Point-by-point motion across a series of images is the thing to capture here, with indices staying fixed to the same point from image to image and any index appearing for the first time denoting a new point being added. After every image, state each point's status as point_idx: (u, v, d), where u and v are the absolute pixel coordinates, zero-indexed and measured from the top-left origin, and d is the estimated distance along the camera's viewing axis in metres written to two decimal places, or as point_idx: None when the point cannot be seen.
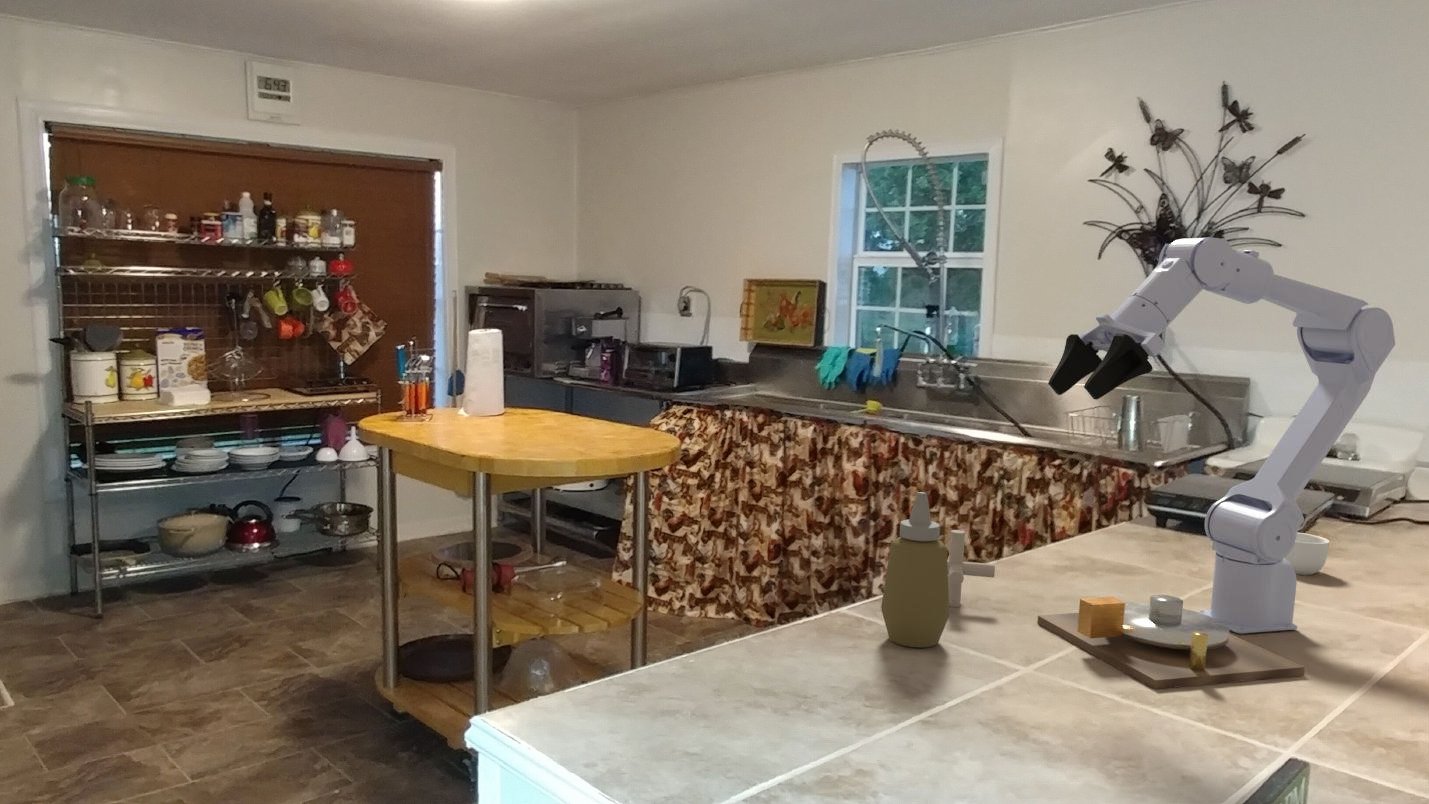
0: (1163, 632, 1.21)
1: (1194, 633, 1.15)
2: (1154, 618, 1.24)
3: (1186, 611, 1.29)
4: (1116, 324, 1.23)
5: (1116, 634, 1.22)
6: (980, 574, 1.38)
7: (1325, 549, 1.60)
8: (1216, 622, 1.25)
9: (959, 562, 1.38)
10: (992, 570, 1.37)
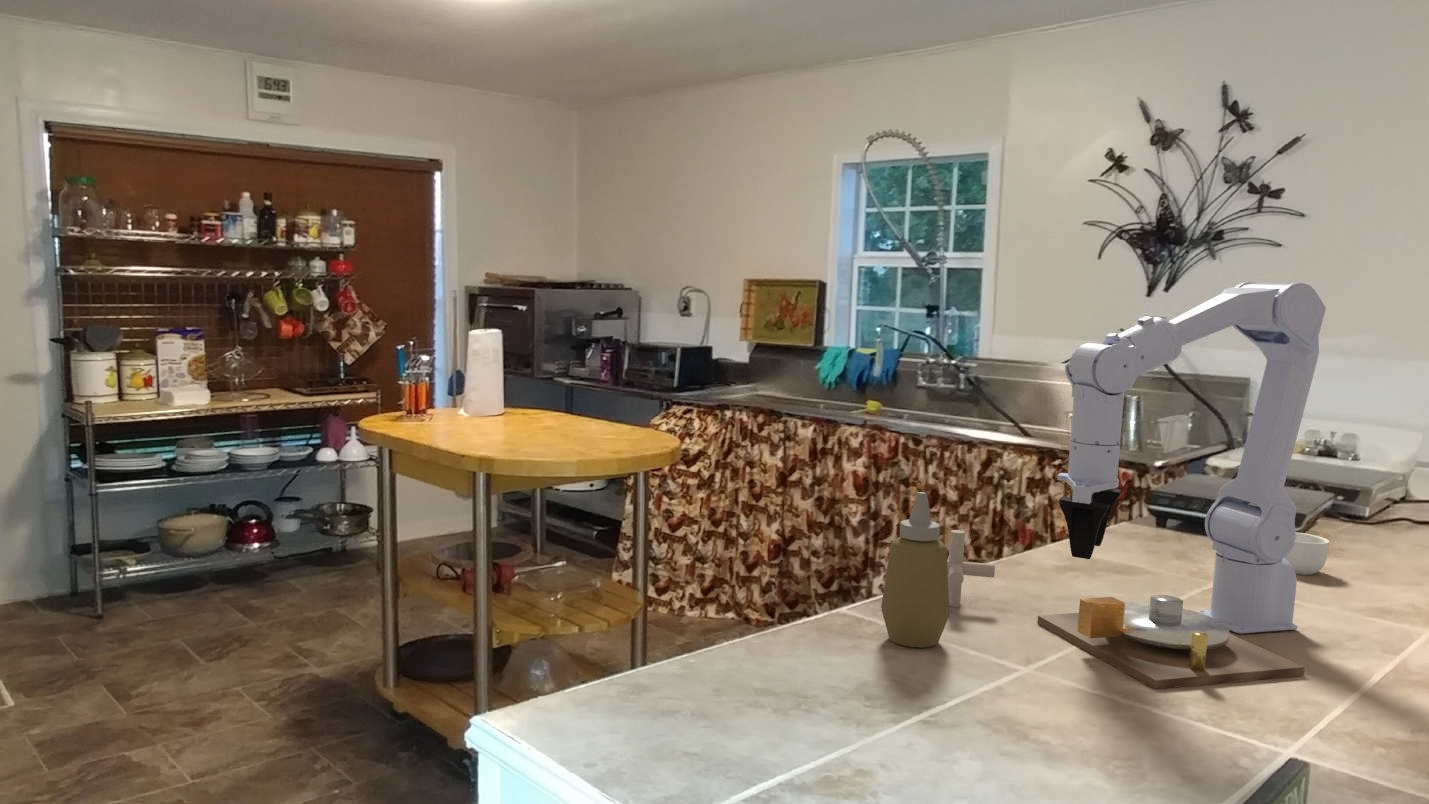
0: (1163, 632, 1.21)
1: (1194, 633, 1.15)
2: (1154, 618, 1.24)
3: (1186, 611, 1.29)
4: (1067, 479, 1.27)
5: (1116, 634, 1.22)
6: (980, 574, 1.38)
7: (1325, 549, 1.60)
8: (1216, 622, 1.25)
9: (959, 562, 1.38)
10: (992, 570, 1.37)
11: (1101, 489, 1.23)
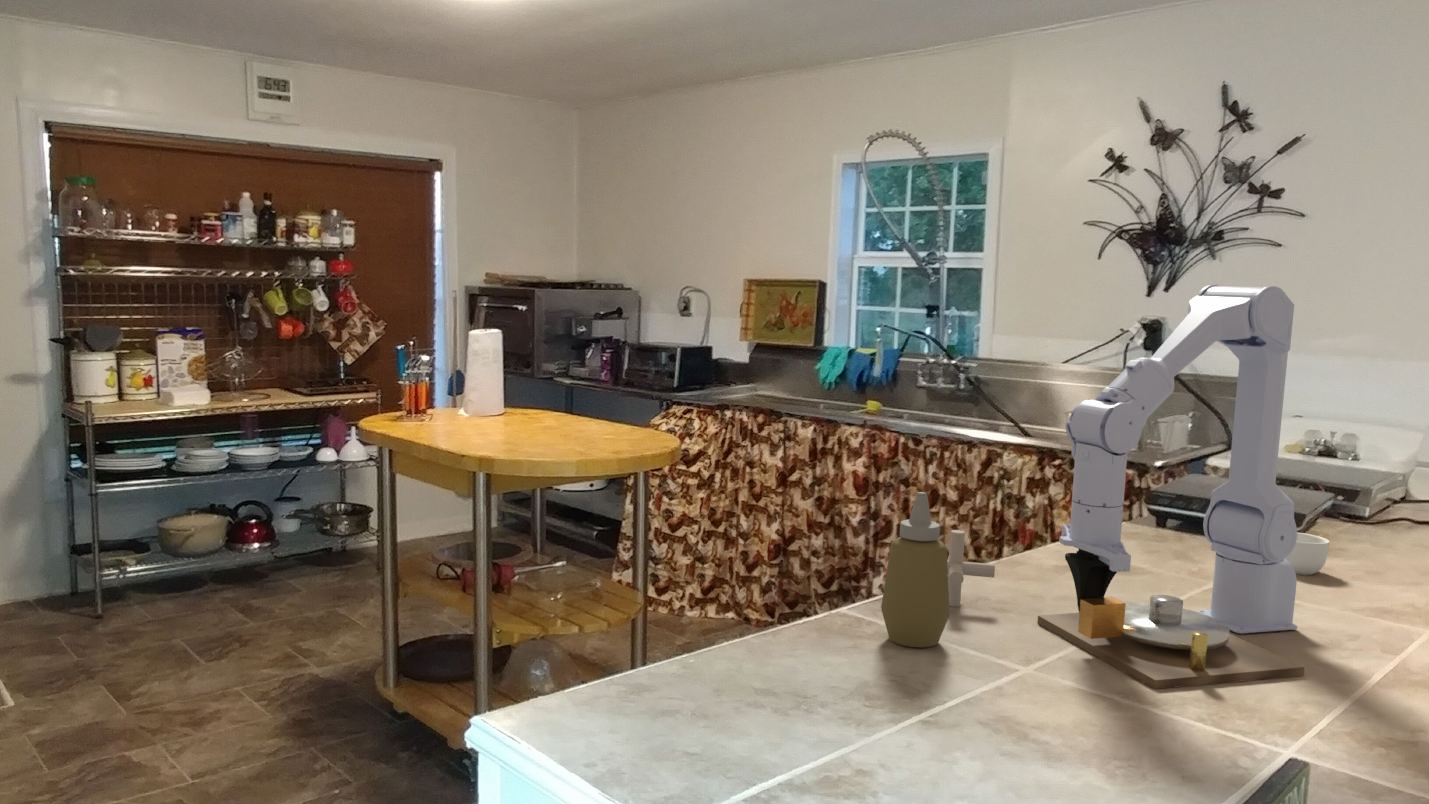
0: (1164, 632, 1.21)
1: (1194, 633, 1.15)
2: (1154, 618, 1.24)
3: (1185, 611, 1.29)
4: (1078, 544, 1.21)
5: (1117, 634, 1.22)
6: (980, 574, 1.38)
7: (1325, 549, 1.60)
8: (1216, 622, 1.25)
9: (959, 562, 1.38)
10: (992, 570, 1.37)
11: None
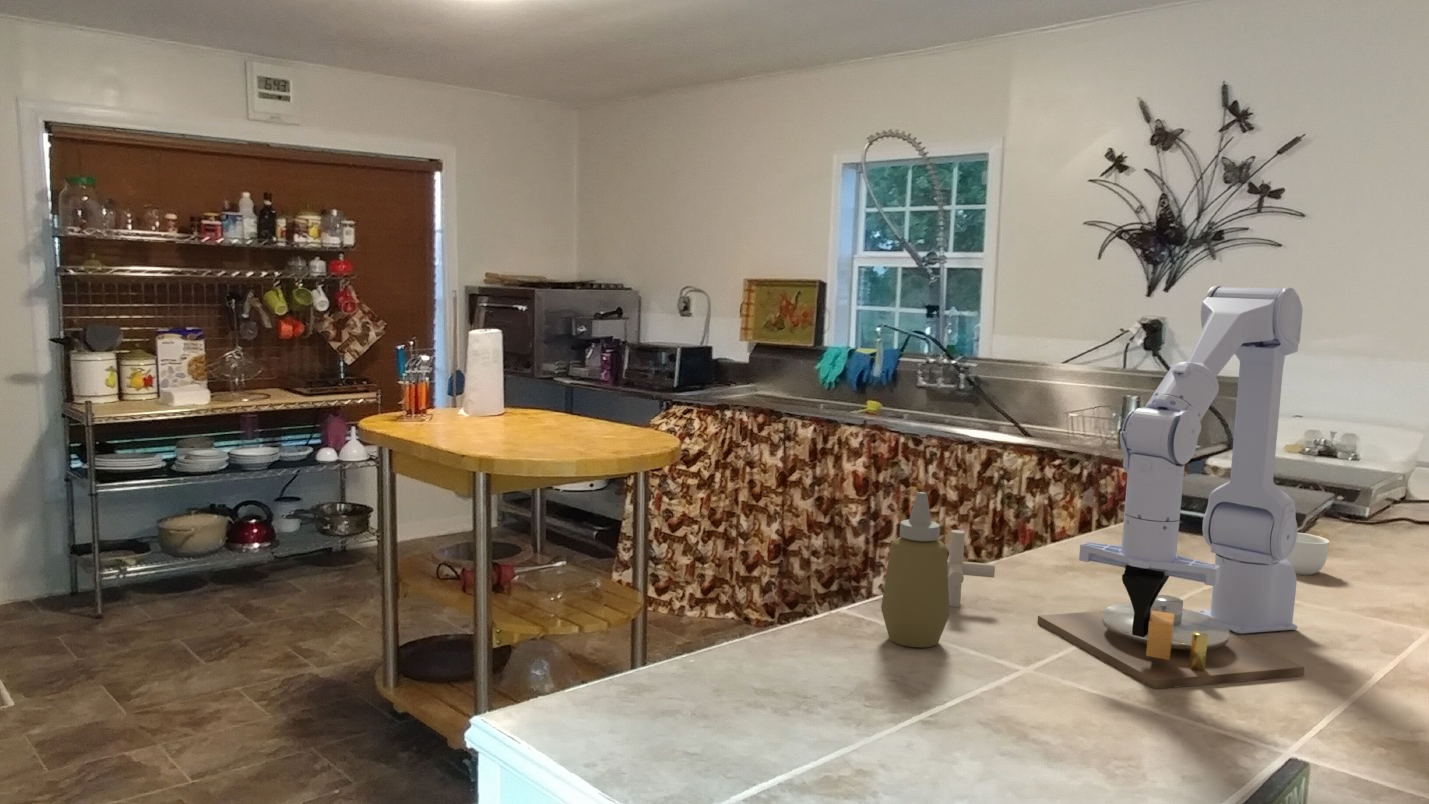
0: None
1: (1194, 633, 1.15)
2: None
3: None
4: (1157, 564, 1.13)
5: (1171, 648, 1.18)
6: (980, 574, 1.38)
7: (1325, 549, 1.60)
8: (1181, 609, 1.30)
9: (959, 562, 1.38)
10: (992, 570, 1.37)
11: None
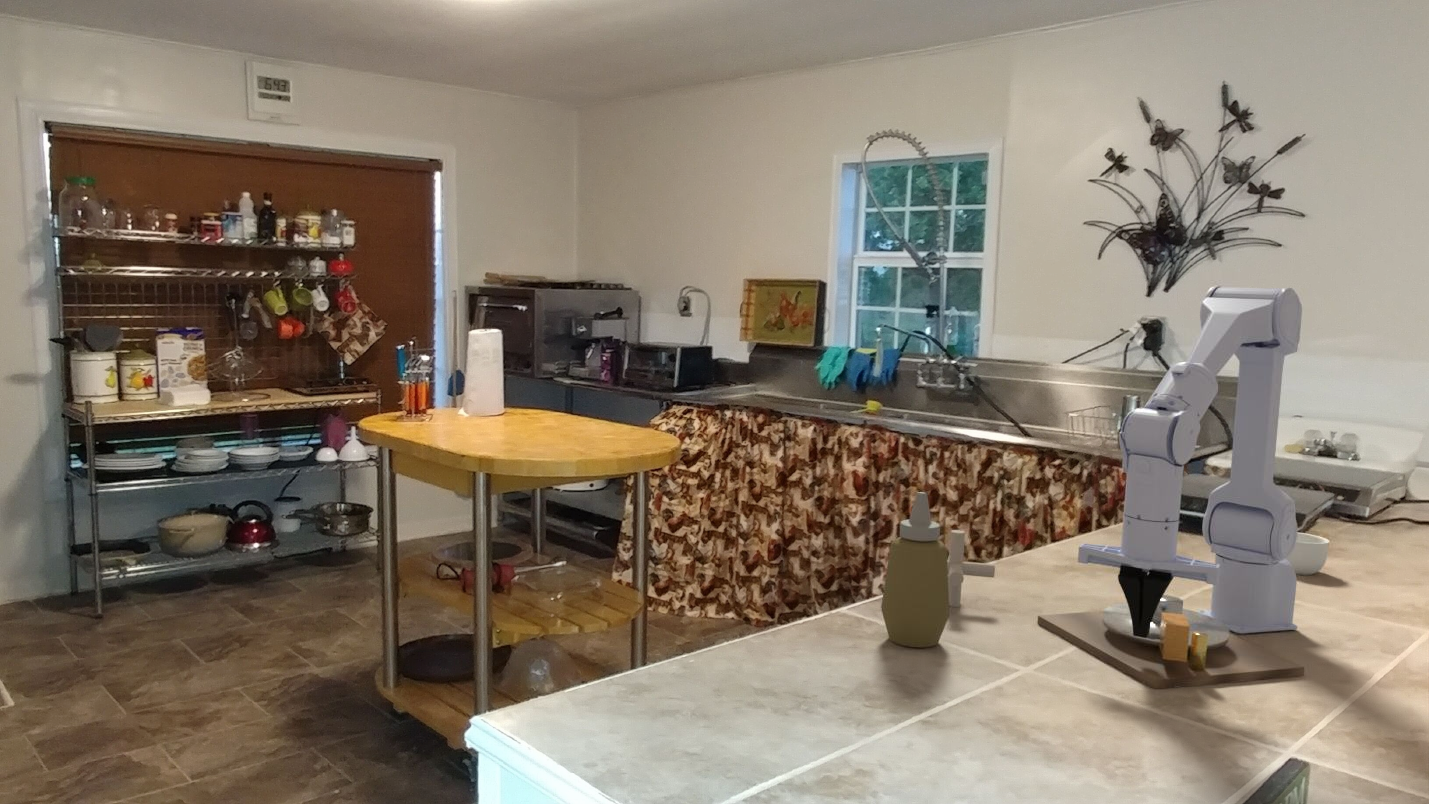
0: None
1: (1194, 633, 1.15)
2: None
3: None
4: (1159, 565, 1.13)
5: None
6: (980, 574, 1.38)
7: (1325, 549, 1.59)
8: None
9: (959, 562, 1.38)
10: (992, 570, 1.37)
11: None
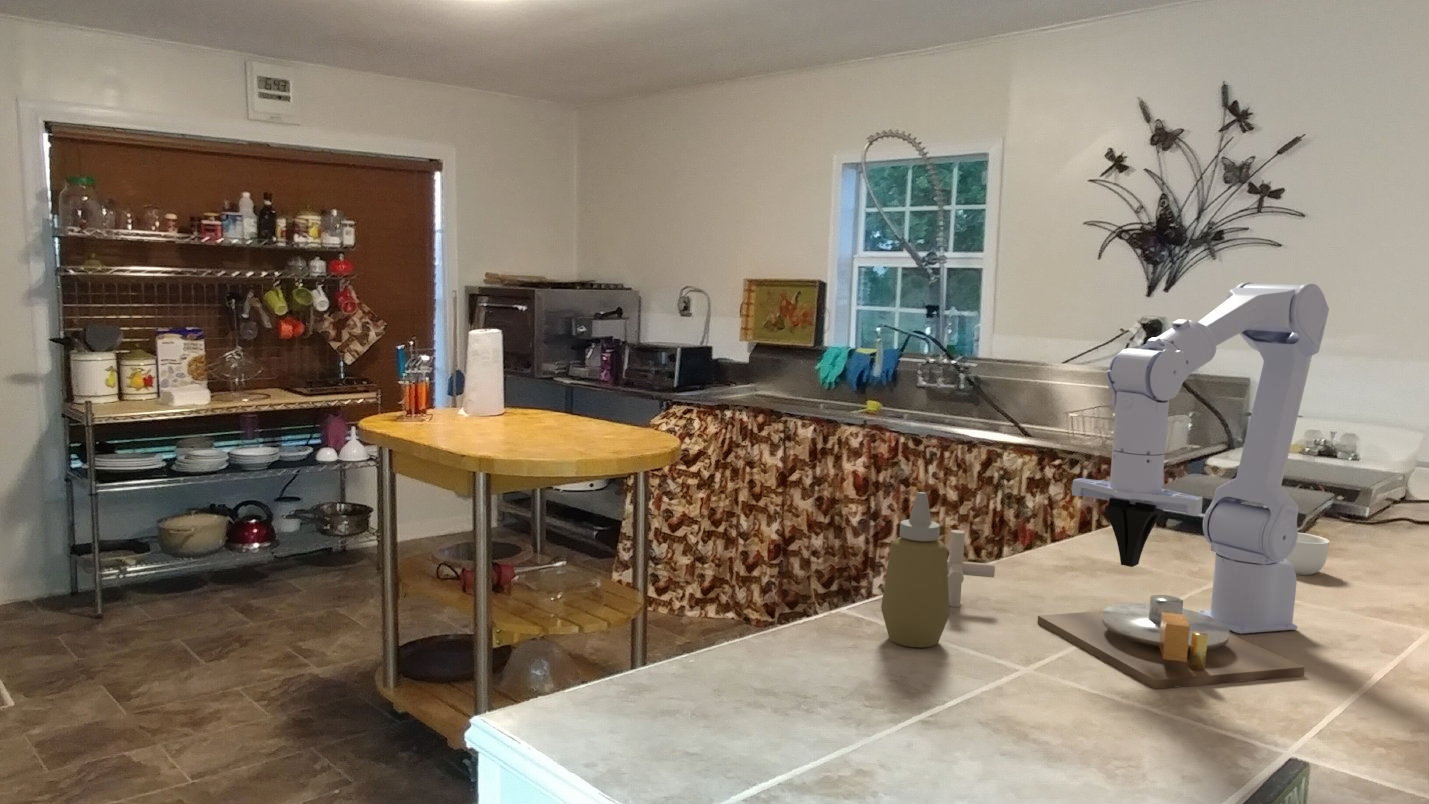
0: None
1: (1194, 633, 1.15)
2: None
3: (1136, 605, 1.31)
4: (1141, 496, 1.19)
5: None
6: (980, 574, 1.38)
7: (1325, 549, 1.60)
8: None
9: (959, 562, 1.38)
10: (992, 570, 1.37)
11: None
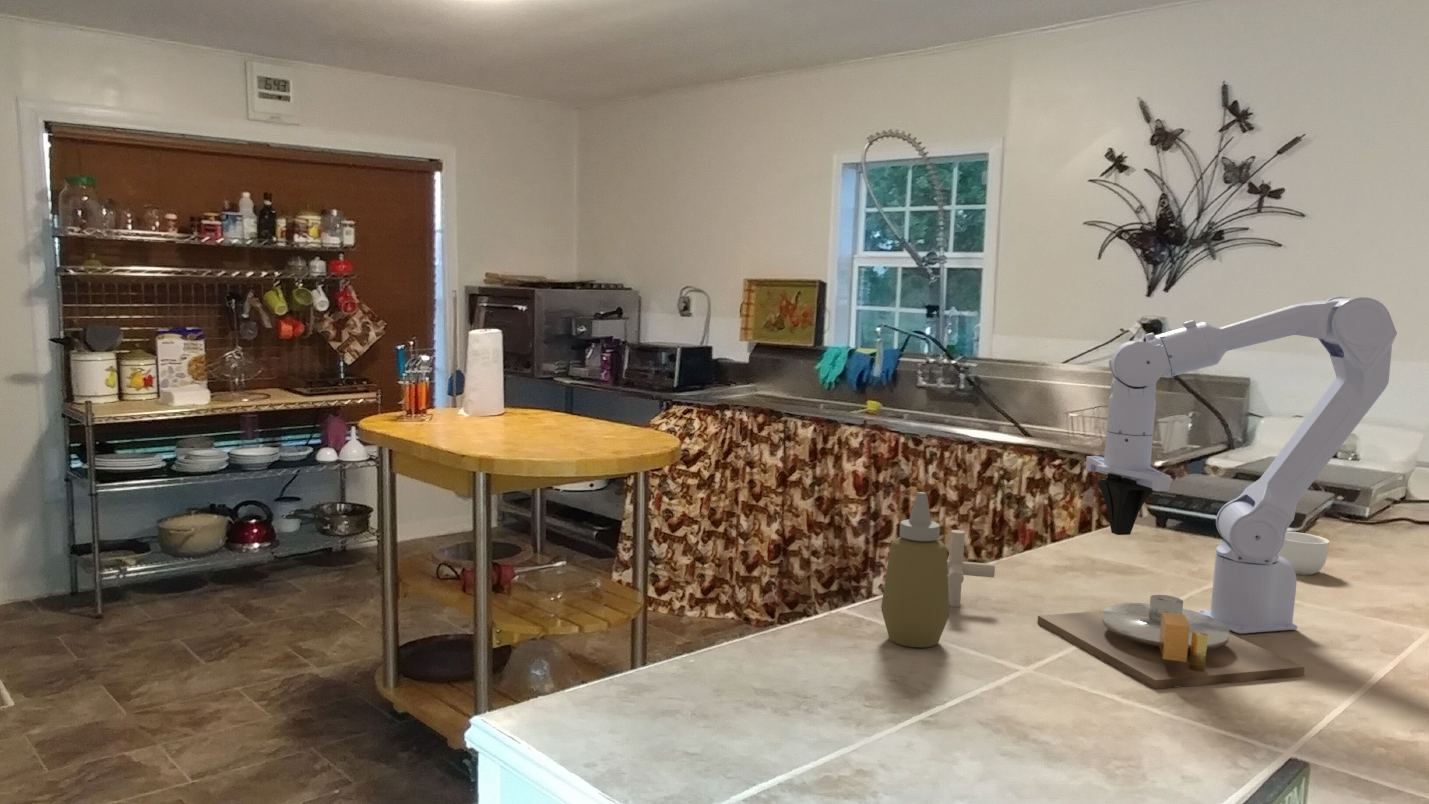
0: None
1: (1194, 633, 1.15)
2: None
3: (1136, 605, 1.31)
4: (1117, 470, 1.35)
5: None
6: (980, 574, 1.38)
7: (1325, 549, 1.60)
8: None
9: (959, 562, 1.38)
10: (992, 570, 1.37)
11: None
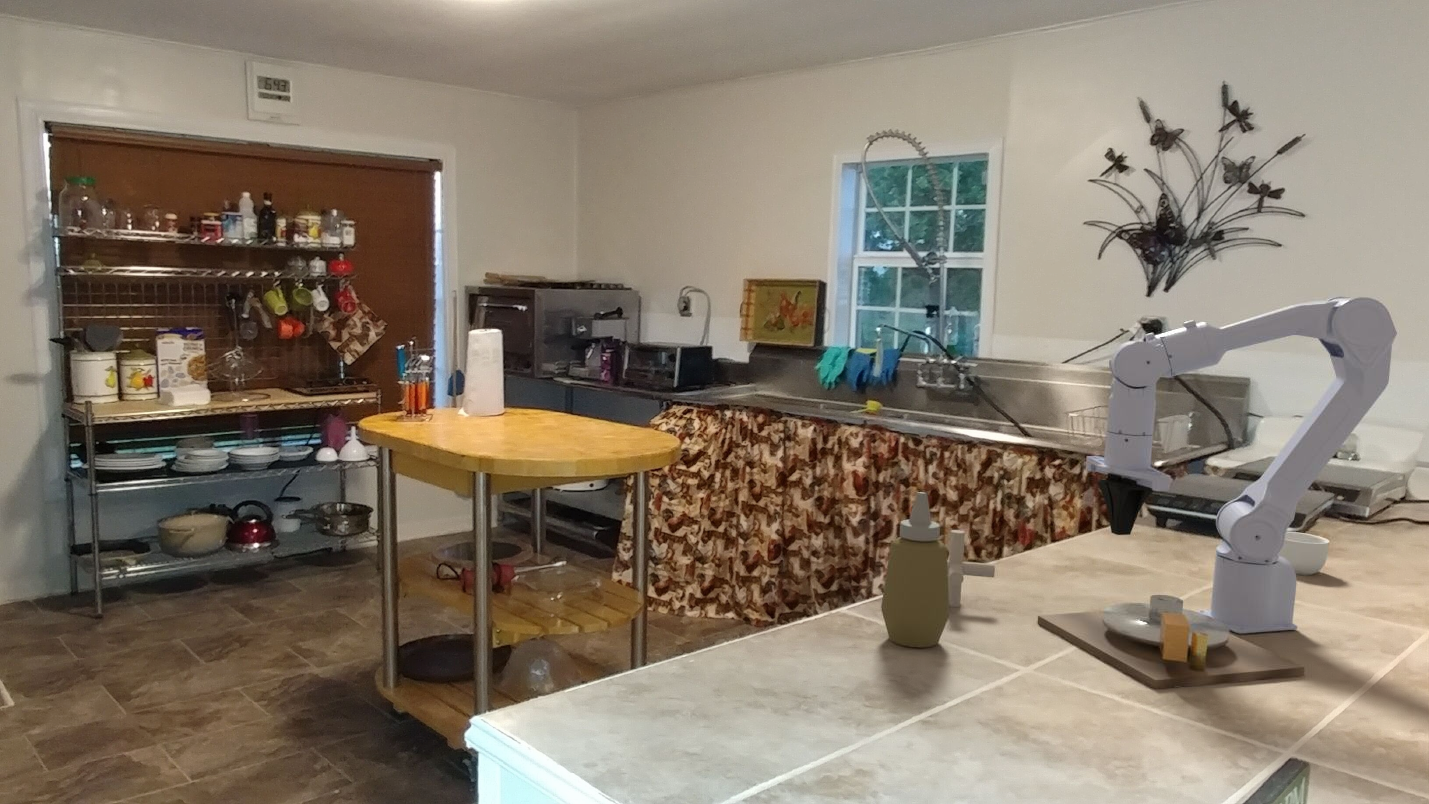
0: None
1: (1194, 633, 1.15)
2: None
3: (1136, 605, 1.31)
4: (1117, 470, 1.35)
5: None
6: (980, 574, 1.38)
7: (1325, 549, 1.59)
8: None
9: (959, 562, 1.38)
10: (992, 570, 1.37)
11: None
